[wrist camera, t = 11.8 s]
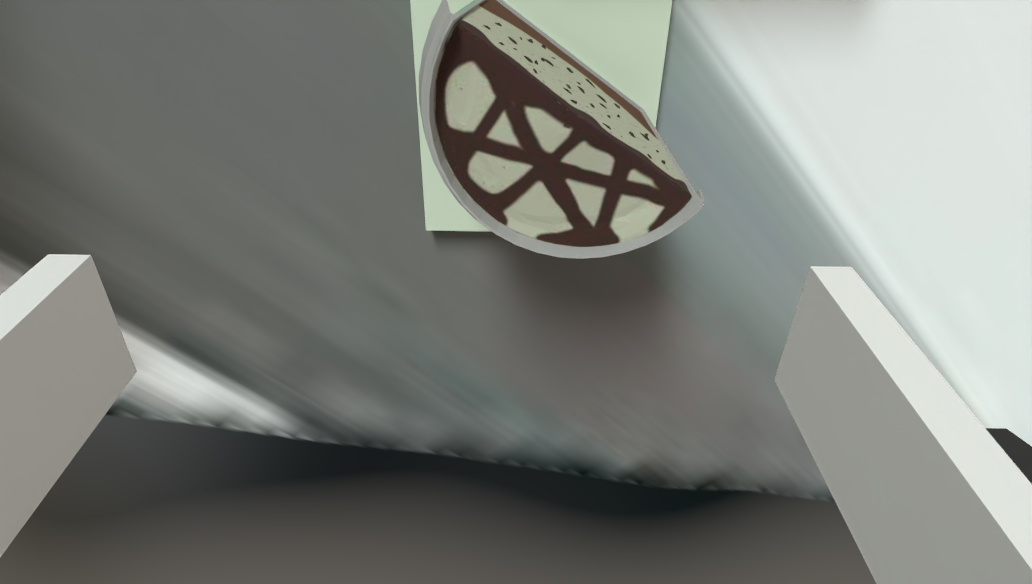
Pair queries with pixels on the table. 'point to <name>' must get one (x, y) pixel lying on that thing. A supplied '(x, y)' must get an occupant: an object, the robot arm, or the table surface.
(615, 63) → the coaster
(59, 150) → the table surface
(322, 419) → the table surface
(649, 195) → the food container
